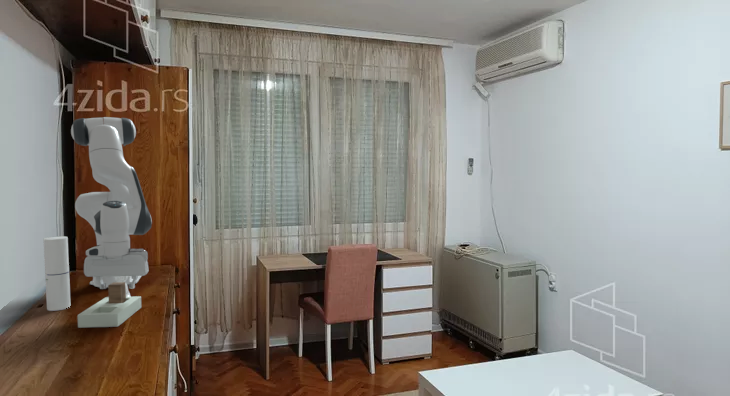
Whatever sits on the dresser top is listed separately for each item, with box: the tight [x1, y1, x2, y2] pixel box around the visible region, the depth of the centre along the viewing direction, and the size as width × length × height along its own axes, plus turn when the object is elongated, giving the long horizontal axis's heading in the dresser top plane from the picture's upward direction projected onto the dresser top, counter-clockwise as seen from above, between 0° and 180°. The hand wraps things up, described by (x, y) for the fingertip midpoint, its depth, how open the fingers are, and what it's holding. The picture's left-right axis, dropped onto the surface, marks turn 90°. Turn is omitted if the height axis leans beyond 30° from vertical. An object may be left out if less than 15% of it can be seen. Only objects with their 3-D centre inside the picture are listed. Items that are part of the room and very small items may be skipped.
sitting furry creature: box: [114, 276, 132, 297], centre depth 178 cm, size 10×9×12 cm
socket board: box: [77, 295, 142, 329], centre depth 162 cm, size 20×12×4 cm, turn 5°
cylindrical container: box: [43, 235, 72, 312], centre depth 171 cm, size 7×7×25 cm
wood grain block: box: [107, 282, 126, 303], centre depth 167 cm, size 4×4×10 cm
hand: (117, 288), depth 167 cm, fingers open, 8 cm apart
